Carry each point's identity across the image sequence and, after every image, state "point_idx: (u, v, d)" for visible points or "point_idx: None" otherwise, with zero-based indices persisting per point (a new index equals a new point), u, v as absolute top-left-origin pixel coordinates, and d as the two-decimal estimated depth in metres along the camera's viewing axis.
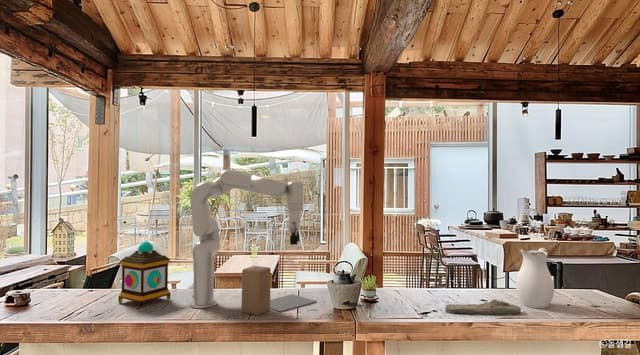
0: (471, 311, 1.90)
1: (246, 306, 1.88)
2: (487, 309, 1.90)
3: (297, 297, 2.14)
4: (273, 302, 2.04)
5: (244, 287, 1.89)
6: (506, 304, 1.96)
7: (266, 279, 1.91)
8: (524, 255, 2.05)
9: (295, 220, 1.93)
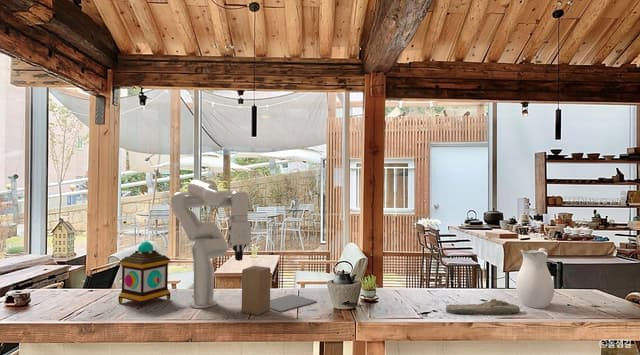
0: (472, 311, 1.90)
1: (246, 306, 1.88)
2: (487, 309, 1.91)
3: (297, 297, 2.14)
4: (273, 302, 2.04)
5: (244, 287, 1.89)
6: (505, 303, 1.97)
7: (266, 279, 1.91)
8: (524, 255, 2.05)
9: None
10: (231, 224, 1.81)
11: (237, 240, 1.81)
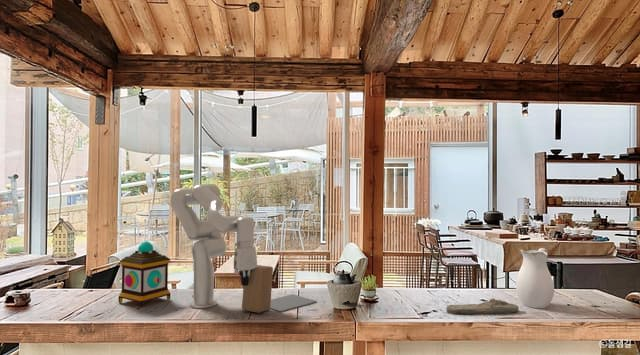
0: (472, 311, 1.90)
1: (247, 303, 1.88)
2: (488, 309, 1.91)
3: (297, 297, 2.14)
4: (273, 302, 2.04)
5: None
6: (504, 303, 1.97)
7: (268, 277, 1.92)
8: (524, 255, 2.05)
9: None
10: (237, 250, 1.84)
11: (243, 266, 1.83)
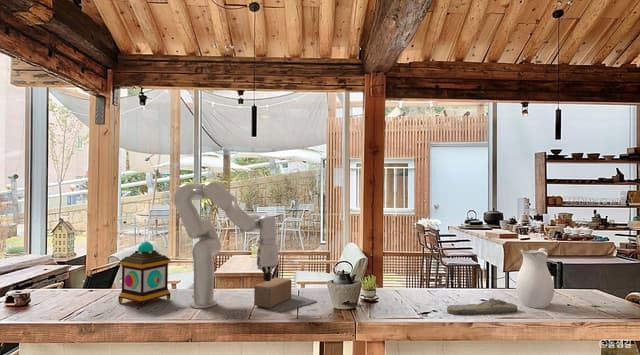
0: (473, 311, 1.90)
1: (263, 284, 2.00)
2: (488, 308, 1.91)
3: (297, 297, 2.14)
4: None
5: None
6: (503, 302, 1.98)
7: (287, 292, 2.08)
8: (524, 255, 2.05)
9: None
10: (260, 247, 1.93)
11: (266, 262, 1.93)
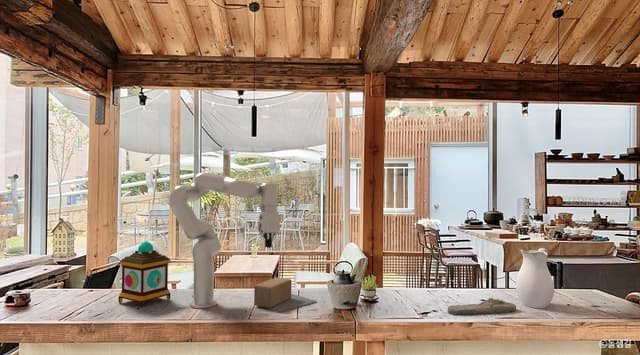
0: (474, 311, 1.90)
1: (263, 284, 2.00)
2: (488, 308, 1.92)
3: (297, 297, 2.14)
4: None
5: (270, 280, 2.08)
6: (502, 302, 1.99)
7: (287, 292, 2.08)
8: (524, 255, 2.05)
9: None
10: (262, 213, 1.94)
11: (267, 228, 1.93)
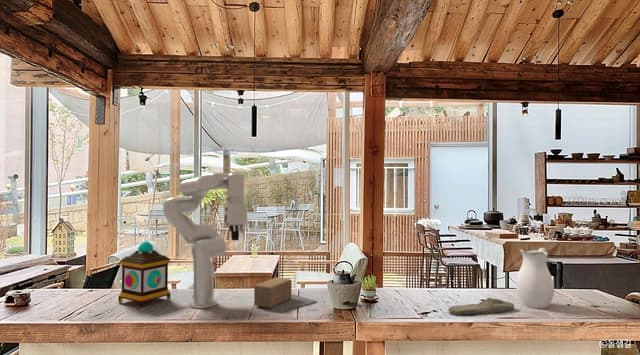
0: (475, 311, 1.90)
1: (263, 284, 2.00)
2: (488, 308, 1.92)
3: (297, 297, 2.14)
4: None
5: (270, 280, 2.08)
6: (500, 301, 2.00)
7: (287, 292, 2.08)
8: (524, 255, 2.05)
9: None
10: (227, 205, 1.87)
11: (233, 220, 1.87)
